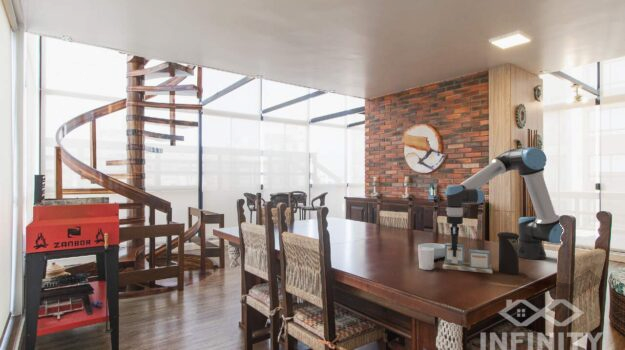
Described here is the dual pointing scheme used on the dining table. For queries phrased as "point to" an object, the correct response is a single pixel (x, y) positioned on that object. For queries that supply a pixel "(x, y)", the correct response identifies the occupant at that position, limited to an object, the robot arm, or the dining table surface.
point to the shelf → (465, 267)
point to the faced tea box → (479, 259)
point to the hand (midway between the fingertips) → (454, 261)
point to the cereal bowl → (435, 249)
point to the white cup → (426, 258)
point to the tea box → (460, 253)
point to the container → (508, 253)
